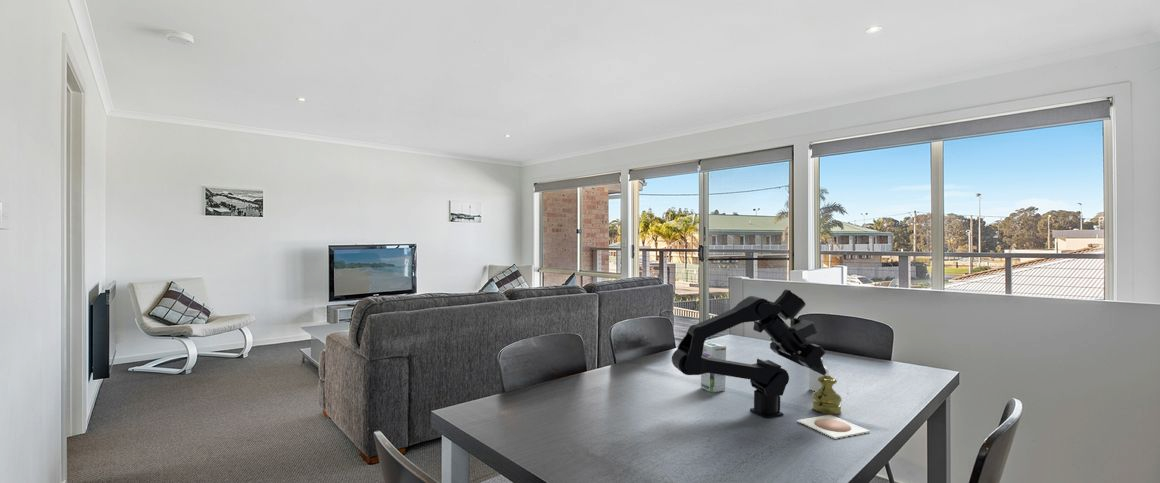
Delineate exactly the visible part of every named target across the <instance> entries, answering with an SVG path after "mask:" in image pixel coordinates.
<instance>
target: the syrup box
mask: <svg viewBox="0 0 1160 483" xmlns="http://www.w3.org/2000/svg"><path fill="white" fill-rule="evenodd" d="M702 356H704V357H708V358H714V359H721V360H727V345H722V344H719V343H716V342H704V346H703V353H702ZM726 377H727V376H725V375H718V374H712V373H705V374H701V375H700V388H701V389H703V390H705V391H707V392H710V393H718V392H723V391H726Z"/></svg>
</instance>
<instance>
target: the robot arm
mask: <svg viewBox="0 0 1160 483" xmlns="http://www.w3.org/2000/svg"><path fill="white" fill-rule="evenodd" d="M806 305H807V304H806V302H805V301H804V300H803V298H802V297H800V296H798V295H797V294H795V293H793V292H792V291H791V290H790V289H784V290H783V291H782V293H781V295H780V296H779V297H778V298H777V299H776V300H775V301H769V300H768V299H766V298H762V297H759V296H755V295H749V296H747V297H746V298H744V299H742V300H741V301H739V302H738V303H737V304H736V305H735V306H734V307H733V308H730V309H729V310H726V311H724V312H722V313H719V314H717V315H716V316H712V317H710V318H708V319H706V320H703V321H700V322H698V323H695V324H692V325H690V326H689V328H688V329H687V332H686V334H685V335H684V336H683V338H682V340H681V341H680V342H679V344H678V346H677V348H676V350H675V351H674V352H673V354H672V356H671V363H672V365H673V366H674V367H675V368H676V369H677V370H678V371H680V372H681V373H682V374H683V375H685V376H701V374H705V373H712V374H718V375H725V376H726V377H727V376H728V377H731V378H732V377H733V378H738V379H744V380H745V379H746V380H749V381H750V385H751V387H752V388H754V389H755V390H753V393H754V394H753V407H750V408H749V411H751V412H753V413H755V414H756V415H758V416H761V417H763V418H765V419H769V418H773V417H780V416H784V412H781V396H783V395H784V393H785V390H786V387H787V385H788V383H789V380H790V376H789V373H788V371H787V370H786V369H785V368H782V365H780V364H777V363H776V362H774V361H772V360H770V359H766V360H763V359H760V358H756V363H751V364H750V363H744V362H738V361H732V360H727V359H726V360H721V359H714V358H708V357H704V356H702V353H703V346H704V344H705V343H706V339H707V338H710V337H712V336H715V335H717V334H720V333H721V332H724V331H726V330H729V329H731V328H733V327H736V326H738V325H741V324H745V323H752V322H753V331H755V332H758V333H762V332H763V331H764V332H765V333H766V334H767V335H768V336H769V337H770V341H771V342H770V343H769V348H770V350H771V351H772V352H773V353H775V354H777V355H779V356H781V357H783V358H785V359H787V360H789V361H791V362H794V363H795V364H797V365H799V366H802V367H805V368H807V369H808V370H809V369H811V370H814V371H816V372H818V373H820V374H822V375H825V374H826V370H825V368H824V362H823V363H822V361H821V358H822V357H823V356H824V355H825V354H826V350H825V349H824V348H823V347H822V346H820V345H818V344H815V343H808V344H807V345H804V344H806V342H807V341H808V340H807V338H809V337H810V336H813V335H816V334H817V333H818V330H817V328H816V325H815V322H814V321H812V320H808V319H801V320H800V319H799V318H796V316H797V315H799V313H800V312H801V311H802V310H803V309H804V307H806ZM787 320H790V323H789V325H788V324H787V323H786V322H785V321H787Z"/></svg>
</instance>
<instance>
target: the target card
mask: <svg viewBox="0 0 1160 483" xmlns="http://www.w3.org/2000/svg"><path fill="white" fill-rule="evenodd" d="M796 422H797V423H798V422H799V423H798V424H800V423H801V424H800V425H802V424H804V425H806V426H809V427H811V428H813V429H815V430H817V431H819V432H821V433H820V434H822V433H823V434H822V435H824V434H825V436H826V435H827V436H826V437H828V436H829V437H828V438H830V437H831V439H832V438H834V439H833V440H839V439H838V438H840V439H844V438H843V437H845V438H849V437H848V436H851V437H854V435H856V436H859V435H860V434H861V435H865V434H864V433H866V434H870V433H871V430H869V429H866V428H864V427H861V426H860V425H856V424H854V423H852V422H850V421H847V420H844V419H843V418H839V417H837V416H836V415H832V414H825V415H820V416H819V415H818V416H813V417H808V418H801V419H797V420H796ZM804 425H803V426H804ZM806 426H805V427H806ZM809 427H808V428H809ZM811 428H810V429H811ZM813 429H812V430H813ZM815 430H814V431H815ZM817 431H816V432H817ZM819 432H818V433H819ZM869 432H870V433H869Z"/></svg>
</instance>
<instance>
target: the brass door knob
mask: <svg viewBox="0 0 1160 483" xmlns="http://www.w3.org/2000/svg"><path fill="white" fill-rule="evenodd" d="M817 380H818V381H819V382H820V383H821V385H822V387H821V388H820V389H818V390H817V391H815V392H814V391H812V398H813V400H811V401H812V409H813V410H814V411H815V410H816V411H815V412H817V411H819V412H818V413H820V412H822V413H821V414H824V413H827V414H826V415H832V414H834V415H840V414H841V412H842V404H841V402H842V396H841V395H840V394H839V393H837V392H836V390H834V388H833V386H834V385H835V384H836V383H837V382H838V381H837V380H838V379H836V378H835V377H833V376H831V375H830V374H829V375H824V376H820V377H818V378H817Z"/></svg>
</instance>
